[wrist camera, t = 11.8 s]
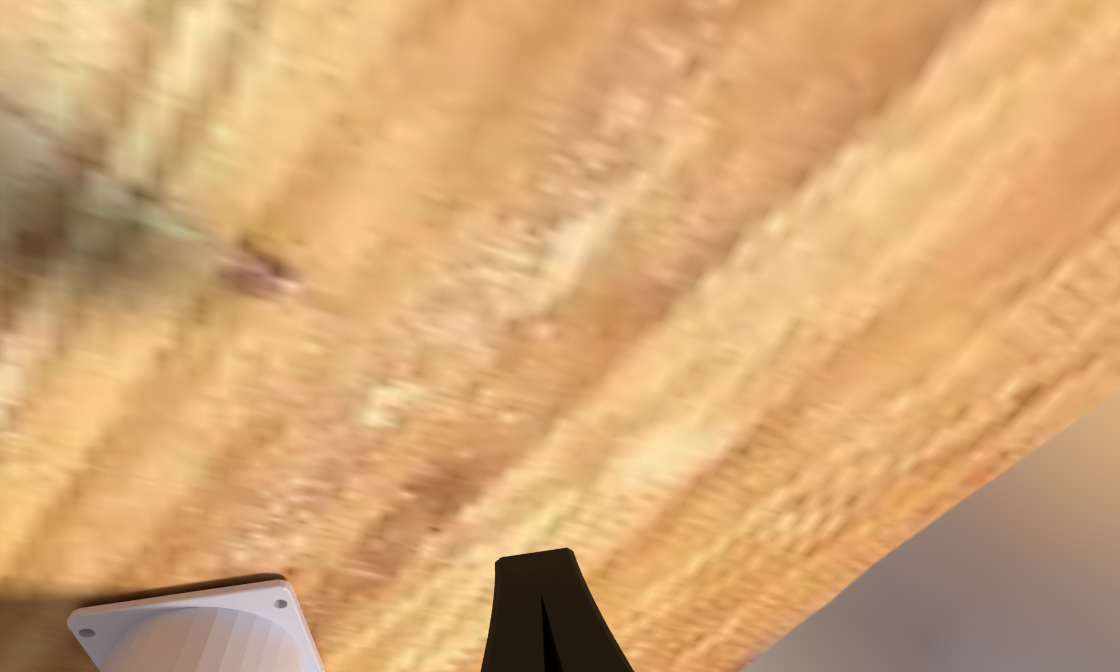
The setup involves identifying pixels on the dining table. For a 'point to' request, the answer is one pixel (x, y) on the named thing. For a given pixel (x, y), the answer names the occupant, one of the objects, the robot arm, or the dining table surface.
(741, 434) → the dining table surface
